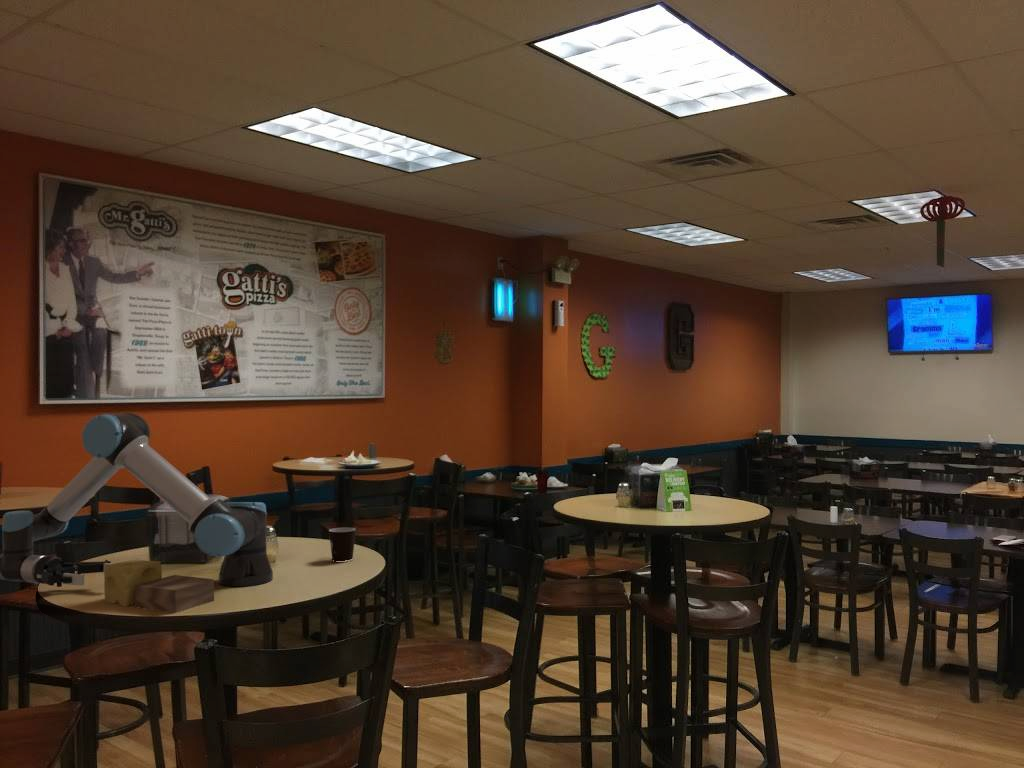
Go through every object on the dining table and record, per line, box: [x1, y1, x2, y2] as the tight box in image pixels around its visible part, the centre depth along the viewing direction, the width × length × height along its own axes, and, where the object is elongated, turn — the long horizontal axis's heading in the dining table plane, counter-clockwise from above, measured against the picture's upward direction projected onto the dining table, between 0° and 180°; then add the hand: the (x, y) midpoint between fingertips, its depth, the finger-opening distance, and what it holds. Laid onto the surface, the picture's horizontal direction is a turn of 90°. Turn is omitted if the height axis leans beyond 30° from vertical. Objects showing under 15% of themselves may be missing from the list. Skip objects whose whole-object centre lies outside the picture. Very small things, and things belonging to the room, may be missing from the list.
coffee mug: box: [328, 527, 357, 561], centre depth 274 cm, size 12×9×10 cm
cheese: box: [103, 558, 163, 607], centre depth 223 cm, size 10×11×10 cm
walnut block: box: [134, 574, 215, 614], centre depth 218 cm, size 14×13×6 cm
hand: (103, 574), depth 226 cm, fingers open, 13 cm apart
